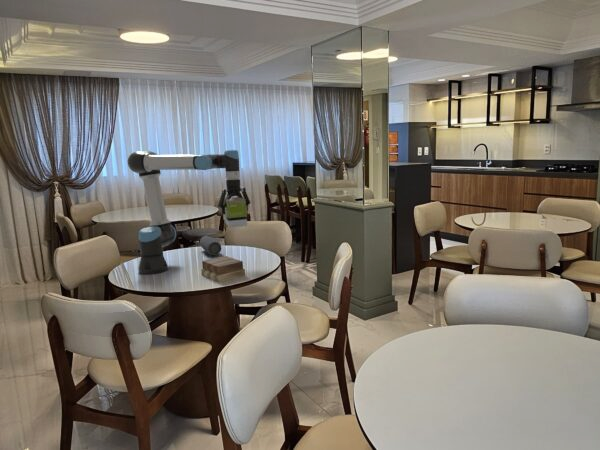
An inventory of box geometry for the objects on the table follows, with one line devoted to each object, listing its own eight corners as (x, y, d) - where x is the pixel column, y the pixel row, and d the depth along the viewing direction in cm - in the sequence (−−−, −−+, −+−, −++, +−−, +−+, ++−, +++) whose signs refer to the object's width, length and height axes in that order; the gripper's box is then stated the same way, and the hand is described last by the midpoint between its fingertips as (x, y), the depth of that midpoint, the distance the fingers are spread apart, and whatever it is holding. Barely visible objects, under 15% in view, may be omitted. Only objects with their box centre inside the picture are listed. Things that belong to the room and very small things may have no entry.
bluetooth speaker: (223, 256, 264) (222, 240, 262) (208, 258, 260) (206, 241, 259) (213, 249, 284) (212, 234, 283) (199, 250, 281) (198, 235, 279)
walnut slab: (202, 268, 224) (202, 260, 224) (226, 263, 233) (225, 255, 232) (218, 274, 211) (218, 266, 211) (243, 269, 220) (242, 261, 219)
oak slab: (201, 276, 225) (201, 268, 224) (226, 270, 234) (226, 262, 234) (219, 283, 211) (219, 275, 211) (245, 276, 221) (244, 269, 220)
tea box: (224, 223, 244) (222, 197, 241) (242, 222, 247) (240, 196, 244) (229, 227, 230) (227, 200, 227) (247, 226, 233) (246, 198, 230)
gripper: (217, 180, 223) (219, 222, 227) (255, 177, 239) (257, 216, 243) (209, 180, 229) (212, 220, 233) (247, 177, 244) (249, 215, 248)
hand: (235, 218), depth 238 cm, fingers closed on tea box, 12 cm apart
